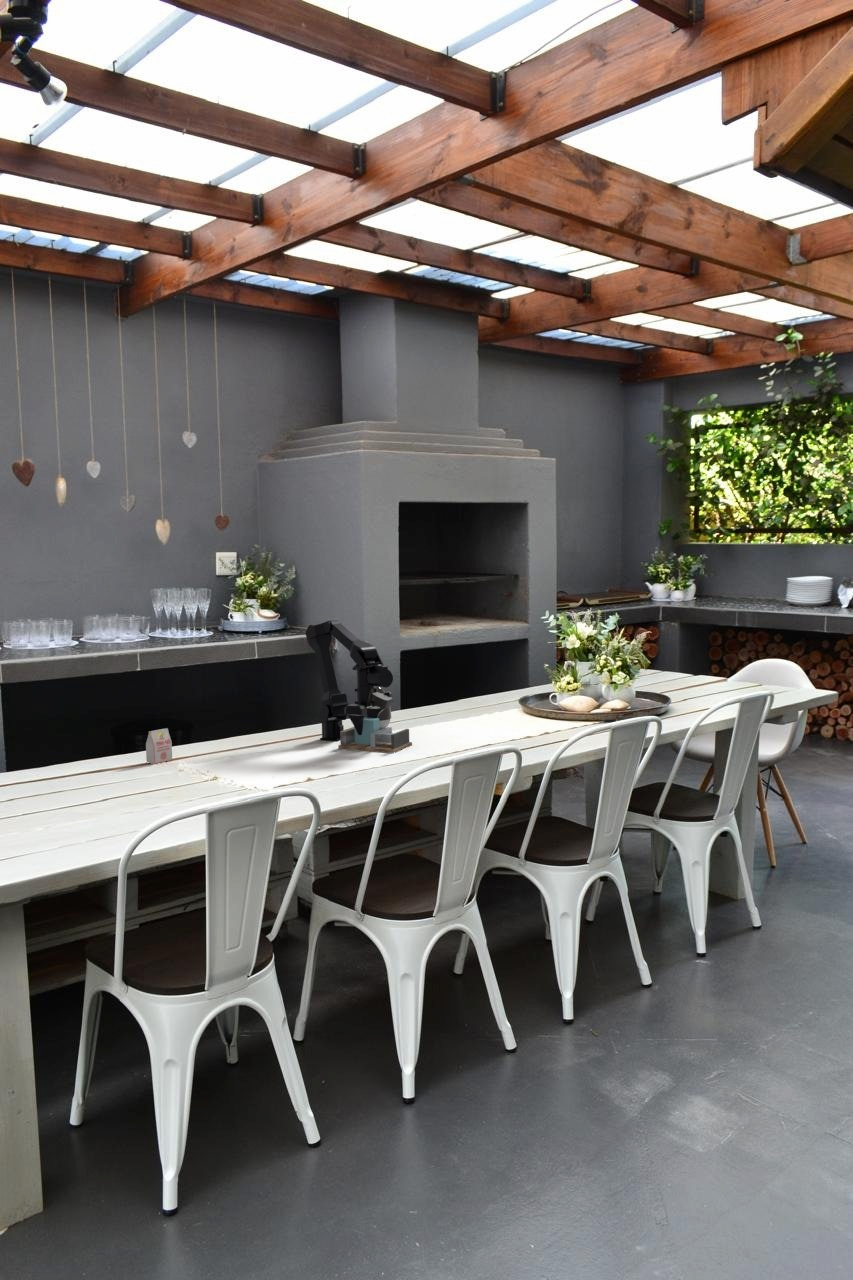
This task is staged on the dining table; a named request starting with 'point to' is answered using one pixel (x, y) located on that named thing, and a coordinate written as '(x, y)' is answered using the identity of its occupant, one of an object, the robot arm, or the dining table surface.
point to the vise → (349, 743)
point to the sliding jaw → (389, 737)
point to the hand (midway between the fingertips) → (366, 732)
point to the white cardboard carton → (158, 746)
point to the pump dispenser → (383, 714)
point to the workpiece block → (367, 731)
